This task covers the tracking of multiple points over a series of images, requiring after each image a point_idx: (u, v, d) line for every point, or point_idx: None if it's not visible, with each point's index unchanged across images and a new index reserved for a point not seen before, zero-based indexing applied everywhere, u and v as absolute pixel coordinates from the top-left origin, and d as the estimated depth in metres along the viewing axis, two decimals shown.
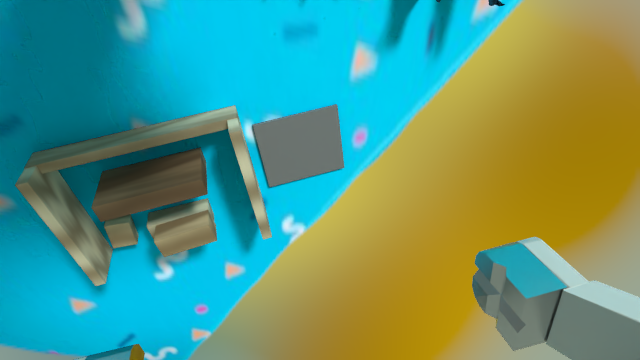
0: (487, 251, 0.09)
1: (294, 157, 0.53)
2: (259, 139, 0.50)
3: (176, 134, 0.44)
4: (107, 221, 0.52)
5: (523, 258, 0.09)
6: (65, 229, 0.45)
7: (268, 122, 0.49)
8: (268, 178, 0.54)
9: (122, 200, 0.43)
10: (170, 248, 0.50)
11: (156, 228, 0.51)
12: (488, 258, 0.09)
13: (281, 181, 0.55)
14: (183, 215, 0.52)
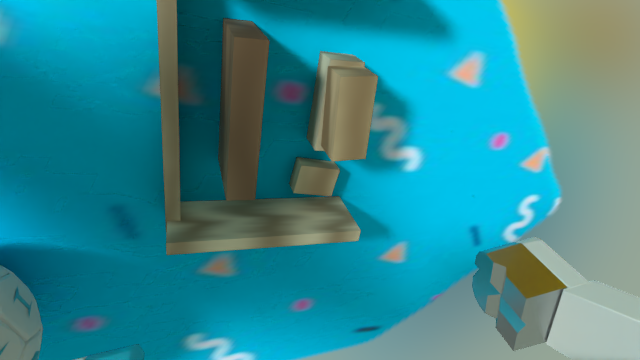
0: (487, 251, 0.09)
1: None
2: None
3: (164, 40, 0.27)
4: (291, 185, 0.38)
5: (523, 258, 0.09)
6: (255, 235, 0.34)
7: None
8: None
9: (228, 162, 0.28)
10: (355, 145, 0.32)
11: (323, 147, 0.34)
12: (488, 258, 0.09)
13: None
14: (322, 97, 0.33)
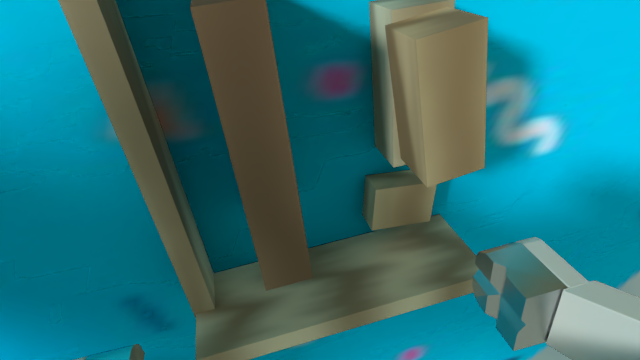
0: (487, 251, 0.09)
1: None
2: None
3: (91, 51, 0.15)
4: (367, 218, 0.25)
5: (523, 258, 0.09)
6: (328, 317, 0.22)
7: None
8: None
9: (252, 235, 0.16)
10: (463, 151, 0.18)
11: (405, 161, 0.21)
12: (488, 258, 0.09)
13: None
14: (389, 80, 0.19)
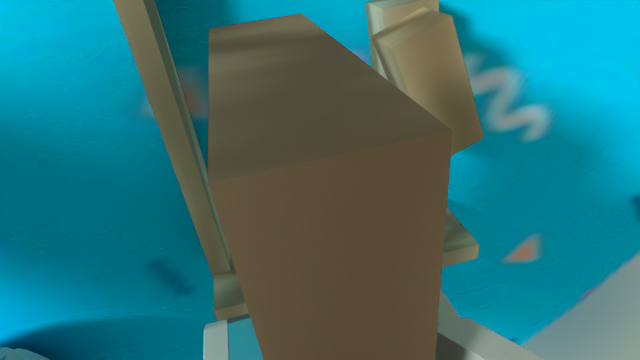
0: None
1: None
2: None
3: (135, 37, 0.18)
4: None
5: None
6: None
7: None
8: None
9: None
10: (460, 128, 0.21)
11: None
12: None
13: None
14: None
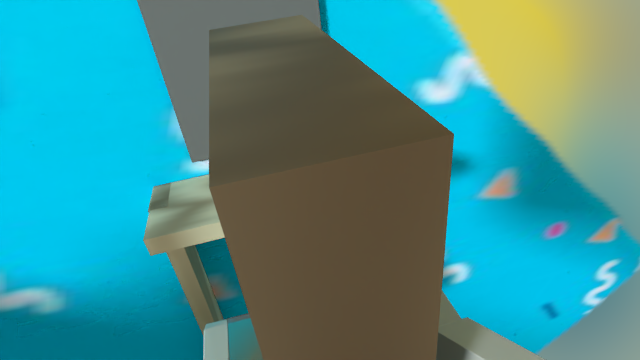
0: None
1: None
2: None
3: (187, 286, 0.29)
4: None
5: None
6: None
7: (184, 135, 0.26)
8: None
9: None
10: None
11: None
12: None
13: None
14: None
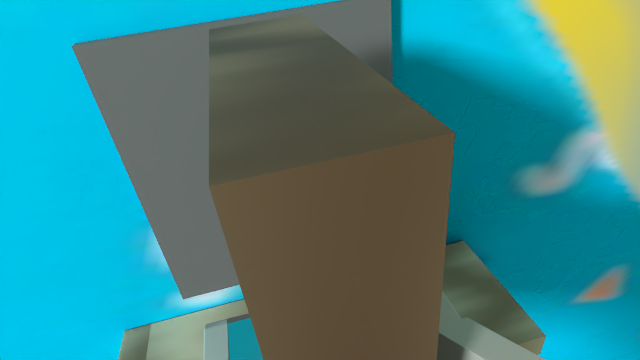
0: None
1: None
2: (228, 281, 0.18)
3: None
4: None
5: None
6: None
7: (170, 265, 0.17)
8: None
9: None
10: None
11: None
12: None
13: None
14: None
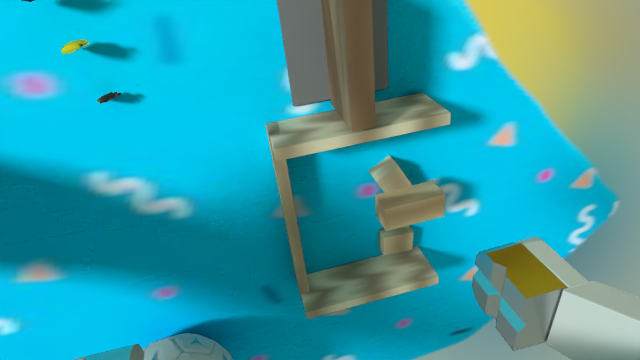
0: (487, 251, 0.09)
1: None
2: (313, 98, 0.39)
3: (284, 195, 0.41)
4: (380, 249, 0.52)
5: (523, 258, 0.09)
6: (363, 295, 0.48)
7: (291, 86, 0.38)
8: None
9: (350, 95, 0.33)
10: (434, 205, 0.43)
11: None
12: (488, 258, 0.09)
13: (384, 70, 0.40)
14: None
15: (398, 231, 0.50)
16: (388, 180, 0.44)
